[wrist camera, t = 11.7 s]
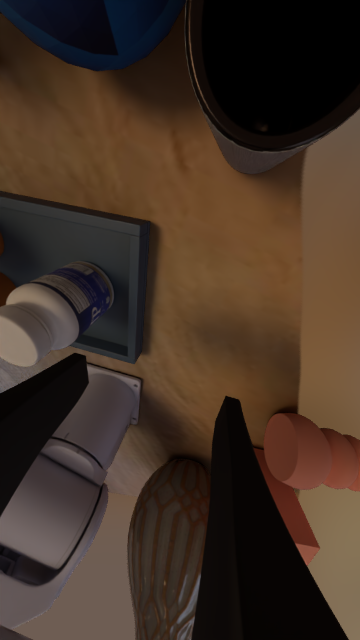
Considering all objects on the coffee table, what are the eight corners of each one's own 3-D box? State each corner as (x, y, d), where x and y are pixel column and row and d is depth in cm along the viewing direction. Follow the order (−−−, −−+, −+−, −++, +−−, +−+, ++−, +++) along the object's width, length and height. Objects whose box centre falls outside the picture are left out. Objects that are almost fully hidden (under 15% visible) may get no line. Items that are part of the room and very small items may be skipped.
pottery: (223, 494, 30) (288, 508, 31) (239, 596, 21) (331, 613, 22) (272, 388, 25) (350, 407, 26) (321, 464, 16) (439, 491, 17)
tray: (142, 351, 24) (134, 364, 22) (-17, 308, 27) (-35, 316, 25) (150, 221, 17) (140, 225, 15) (-71, 176, 19) (-102, 175, 17)
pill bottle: (97, 320, 23) (28, 385, 15) (55, 283, 21) (-42, 334, 14) (126, 291, 20) (60, 352, 12) (81, 247, 19) (-22, 286, 11)
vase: (135, 452, 36) (66, 629, 22) (199, 439, 30) (162, 674, 16) (181, 492, 40) (149, 665, 26) (246, 488, 34) (252, 712, 19)
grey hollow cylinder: (203, 138, 14) (143, 52, 5) (262, 46, 11) (342, -426, 3) (254, 191, 14) (278, 196, 6) (319, 116, 12) (527, -67, 3)
